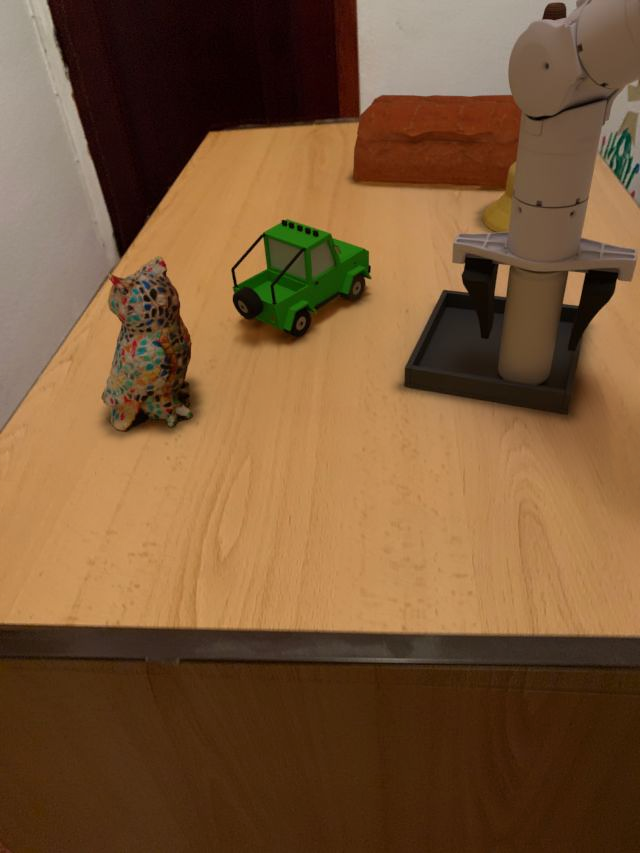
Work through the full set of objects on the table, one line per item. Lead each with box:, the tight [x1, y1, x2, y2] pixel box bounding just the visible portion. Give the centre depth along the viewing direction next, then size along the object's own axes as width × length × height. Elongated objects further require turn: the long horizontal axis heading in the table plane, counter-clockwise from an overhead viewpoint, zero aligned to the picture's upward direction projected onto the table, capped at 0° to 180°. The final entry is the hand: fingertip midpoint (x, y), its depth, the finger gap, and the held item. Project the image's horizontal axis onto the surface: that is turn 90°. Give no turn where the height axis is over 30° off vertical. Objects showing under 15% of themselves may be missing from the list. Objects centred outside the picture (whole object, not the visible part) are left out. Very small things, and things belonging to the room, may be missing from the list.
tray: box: [404, 289, 584, 415], centre depth 66 cm, size 15×15×2 cm
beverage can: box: [498, 265, 570, 385], centre depth 59 cm, size 5×5×12 cm
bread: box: [352, 94, 522, 188], centre depth 102 cm, size 16×27×11 cm, turn 72°
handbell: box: [481, 1, 568, 233], centre depth 82 cm, size 12×12×25 cm
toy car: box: [230, 218, 372, 338], centre depth 73 cm, size 8×17×10 cm, turn 137°
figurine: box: [100, 255, 194, 432], centre depth 60 cm, size 9×9×15 cm
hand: (528, 338), depth 60 cm, fingers open, 7 cm apart
